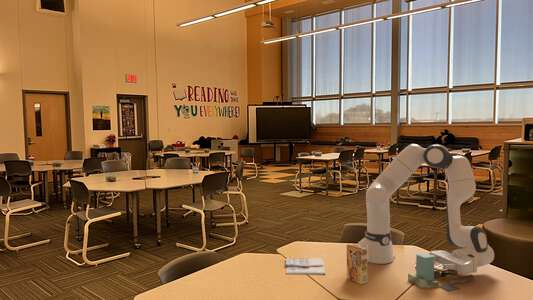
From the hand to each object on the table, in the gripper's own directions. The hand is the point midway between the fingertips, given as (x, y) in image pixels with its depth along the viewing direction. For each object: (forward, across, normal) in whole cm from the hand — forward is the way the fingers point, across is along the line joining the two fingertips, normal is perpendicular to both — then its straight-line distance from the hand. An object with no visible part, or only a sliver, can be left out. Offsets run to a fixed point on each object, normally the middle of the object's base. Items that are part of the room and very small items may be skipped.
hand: (436, 263), depth 176 cm
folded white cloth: (+45, -37, +8) cm, 59 cm away
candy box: (+31, -13, +8) cm, 35 cm away
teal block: (+6, 0, +8) cm, 10 cm away
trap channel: (-2, 0, +8) cm, 8 cm away
